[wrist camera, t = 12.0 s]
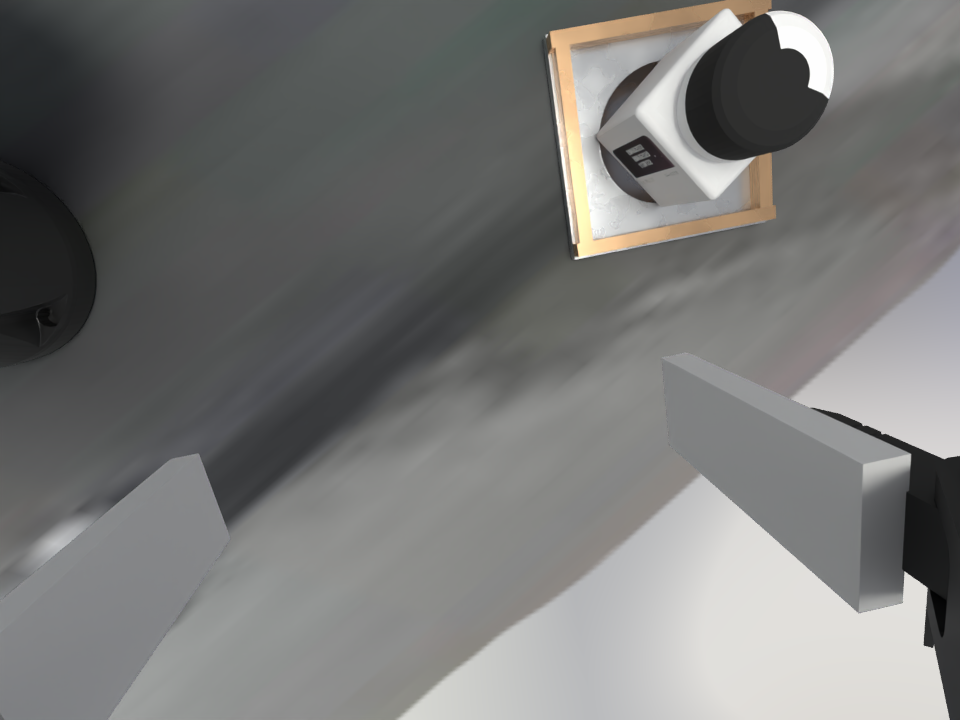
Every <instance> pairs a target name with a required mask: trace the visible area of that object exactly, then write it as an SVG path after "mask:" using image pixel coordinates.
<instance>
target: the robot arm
mask: <svg viewBox="0 0 960 720" xmlns="http://www.w3.org/2000/svg"><path fill="white" fill-rule="evenodd" d="M94 292H95V270H94V263H93V258H92V255H91V251H90V248H89V245H88V243H87V240H86V238H85V236H84V234H83V232H82V230H81V228H80V226H79V225H78V223H77V221H76V220H75V218H74V217H73V216H72V214H71V213H70V212H69V210H68V209H67V208H66V206H65V205H64V204H63V203H62V202H61V201H60V200H59V199H58V198H57V197H56V196H55V195H54V194H53V193H52V192H51V191H50V190H49V189H47V188H46V187H45V186H44V185H43V184H41V183H40V182H39V181H37V180H36V179H34V178H33V177H31V176H30V175H28V174H26V173H25V172H23V171H21V170H19V169H17V168H15V167H13V166H11V165H9V164H7V163H4V162H1V161H0V367H6V366H11V365H15V364H18V363H22V362H25V361H29V360H32V359H35V358H38V357H42V356H44V355H47V354H49V353H51V352H53V351H55V350H57V349H58V348H60V347H62V346H63V345H64V344H66V343H67V342H68V341H69V340H70V339H72V338H73V336H74V335H75V334H76V333H77V332H78V331H79V330H80V328H81V327H82V325H83V324H84V322H85V320H86V318H87V317H88V314H89V312H90V309H91V306H92V303H93V298H94ZM661 360H662V371H663V383H664V394H665V405H666V416H667V428H668V439H669V446H671V447H672V448H673V449H674V450H675V451H676V452H677V453H679V454H680V455H681V456H682V457H683V458H684V459H685V460H686V461H688V462H689V463H690V464H691V465H692V466H693V467H694V468H695V469H697V470H698V471H699V472H700V473H701V474H702V475H703V476H704V477H706V478H707V479H708V480H709V481H710V482H711V483H712V484H713V485H715V486H716V487H717V488H718V489H719V490H720V491H721V492H723V493H724V494H725V495H726V496H727V497H728V498H729V499H730V500H732V501H733V502H734V503H735V504H736V505H737V506H739V508H741V509H742V510H743V511H744V512H745V513H746V514H748V515H749V516H750V517H751V518H752V519H753V520H754V521H755V522H756V523H757V524H759V525H760V526H761V527H762V528H763V529H764V530H765V531H767V532H768V533H769V534H770V535H771V536H772V537H773V538H774V539H776V540H777V541H778V542H779V543H780V544H781V545H782V546H783V547H785V548H786V549H787V550H788V551H789V552H790V553H791V554H793V555H794V556H795V557H796V558H797V559H798V560H799V561H800V562H802V563H803V564H804V565H805V566H806V567H807V568H808V569H809V570H810V571H812V572H813V573H814V574H815V575H816V576H817V577H818V578H820V579H821V580H822V581H823V582H824V583H825V584H826V585H828V586H829V587H830V588H831V589H832V590H833V591H834V592H835V593H837V594H838V595H839V596H840V597H841V598H842V599H843V600H844V601H845V602H847V603H848V604H849V605H850V606H851V607H852V608H854V610H856V611H857V612H858V613H862V612H867V611H871V610H875V609H880V608H884V607H888V606H892V605H897V604H901V603H903V586H904V571H905V572H907V573H908V574H909V575H911V576H912V577H914V578H915V579H916V580H918V581H920V582H921V583H922V584H923V585H925V586H926V587H928V592H927V606H926V620H925V634H924V646H928V647H931V648H933V646H935V651H936V656H937V660H938V665H939V670H940V675H941V680H942V684H943V689H944V694H945V699H946V703H947V708H948V713H949V718H950V720H960V456H957V457H950V458H947V459H942V458H940V457H938V456H935V455H933V454H931V453H928V452H926V451H924V450H922V449H919V448H917V447H915V446H912V445H910V444H908V443H905V442H903V441H901V440H899V439H896V438H894V437H892V436H889V435H887V434H883V435H882V434H881V432H880V431H878V430H876V429H873V428H871V427H869V426H862V424H861V423H859V422H857V421H855V420H852V419H850V418H848V417H846V416H843V415H841V414H838V413H833V412H829V411H825V410H820V409H816V408H809V407H807V406H805V405H802V404H800V403H798V402H796V401H794V400H791V399H789V398H787V397H785V396H782V395H780V394H778V393H776V392H774V391H771V390H769V389H767V388H765V387H763V386H760V385H758V384H756V383H754V382H752V381H749V380H747V379H745V378H743V377H741V376H738V375H736V374H734V373H732V372H730V371H727V370H725V369H723V368H721V367H719V366H716V365H714V364H712V363H710V362H707V361H705V360H703V359H701V358H699V357H696V356H694V355H692V354H690V353H688V352H686V353H681V354H677V355H672V356H667V357H662V358H661ZM229 541H230V536H229V533H228V531H227V528H226V525H225V523H224V520H223V517H222V515H221V512H220V509H219V507H218V504H217V501H216V498H215V496H214V493H213V490H212V488H211V485H210V482H209V480H208V477H207V474H206V472H205V469H204V466H203V464H202V461H201V458H200V456H199V453H198V454H193V455H188V456H183V457H178V458H173V459H170V460H169V461H168V462H166V463H165V464H164V465H163V466H162V467H160V468H159V469H158V470H157V471H156V472H154V473H153V474H152V475H151V476H150V477H148V478H147V479H146V480H145V481H144V482H142V483H141V484H140V485H139V486H138V487H136V488H135V489H134V490H133V491H132V492H130V493H129V494H128V495H127V496H126V497H124V498H123V499H122V500H121V501H120V502H118V503H117V504H116V505H115V506H113V507H112V508H111V509H110V510H109V511H107V512H106V513H105V514H104V515H103V516H101V517H100V518H99V519H98V520H97V521H95V522H94V523H93V524H92V525H91V526H89V527H88V528H87V529H86V530H85V531H83V532H82V533H81V534H80V535H79V536H77V537H76V538H75V539H74V540H73V541H71V542H70V543H69V544H68V545H67V546H65V547H64V548H63V549H62V550H61V551H59V552H58V553H57V554H56V555H55V556H53V557H52V558H51V559H50V560H49V561H47V562H46V563H45V564H44V565H43V566H41V567H40V568H39V569H38V570H37V571H35V572H34V573H33V574H32V575H31V576H29V577H28V578H27V579H26V580H25V581H23V582H22V583H21V584H20V585H19V586H17V587H16V588H15V589H14V590H13V591H11V592H10V593H9V594H8V595H7V596H5V597H4V598H3V599H2V600H1V601H0V720H108V718H109V717H110V715H111V714H112V712H113V711H114V709H115V708H116V707H117V705H118V704H119V702H120V701H121V699H122V698H123V696H124V695H125V693H126V692H127V690H128V689H129V687H130V686H131V685H132V683H133V682H134V680H135V679H136V677H137V676H138V674H139V673H140V671H141V670H142V668H143V667H144V665H145V664H146V663H147V661H148V660H149V658H150V657H151V655H152V654H153V652H154V651H155V649H156V648H157V646H158V645H159V643H160V642H161V641H162V639H163V638H164V636H165V635H166V633H167V632H168V630H169V629H170V627H171V626H172V624H173V623H174V621H175V620H176V619H177V617H178V616H179V614H180V613H181V611H182V610H183V608H184V607H185V605H186V604H187V602H188V601H189V599H190V598H191V597H192V595H193V594H194V592H195V591H196V589H197V588H198V586H199V585H200V583H201V582H202V580H203V579H204V577H205V576H206V575H207V573H208V572H209V570H210V569H211V567H212V566H213V564H214V563H215V561H216V560H217V558H218V557H219V555H220V554H221V553H222V551H223V550H224V548H225V547H226V545H227V544H228V542H229Z"/></svg>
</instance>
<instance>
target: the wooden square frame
mask: <svg viewBox="0 0 960 720" xmlns="http://www.w3.org/2000/svg"><path fill="white" fill-rule="evenodd" d="M723 9H730V10H731V11H732V12H733V14H734V15H735V16H736V17H737V19H738V20H739V21H740V23H741V24H742V25H743V24H745V23H746V22H748V21H749V20H751V19H753V18H755V17H756V16H759V15H762V14H764V13H768V11H769V10H770V9H771V0H726V1H720V2H715V3H709V4H703V5H698V6H692V7H686V8H681V9H675V10H669V11H664V12H658V13H652V14H647V15H641V16H635V17H630V18H624V19H618V20H613V21H607V22H601V23H596V24H590V25H584V26H579V27H573V28H567V29H562V30H556V31H550V32H549V34H547V35H545V36H544V38H543V40H542V41H543V48H544V56H545V63H546V71H547V78H548V86H549V93H550V101H551V109H552V116H553V124H554V131H555V139H556V146H557V154H558V161H559V169H560V176H561V184H562V192H563V199H564V207H565V214H566V222H567V229H568V237H569V244H570V252H571V259H574V260H575V259H581V258H586V257H591V256H596V255H601V254H606V253H611V252H616V251H621V250H626V249H631V248H636V247H642V246H647V245H652V244H657V243H662V242H667V241H672V240H677V239H682V238H687V237H692V236H697V235H703V234H708V233H713V232H718V231H723V230H728V229H733V228H738V227H743V226H748V225H753V224H758V223H764V222H766V220H770V219H775V218H776V205H773V201H772V158H771V153H767V154H764V155H760V156H756V157H755V158H754V159H753V160H752V161H751V163H750V164H749V165H748V166H747V167H746V168H745V169H744V170H743V171H742V172H741V173H740V174H739V175H738V177H737V178H736V179H735V180H734V181H733V182H732V183H731V184H730V185H729V186H728V187H727V188H726V189H725V190H724V192H723V193H722V194H721V195H720V196H719V197H718V198H716V199H715V200H708V201H701V202H693V203H686V204H679V205H672V206H665V207H661V206H660V205H658V204H657V202H656V201H655V200H654V199H653V198H652V197H651V196H650V195H649V194H648V193H647V192H646V191H645V190H644V189H643V187H642V186H641V185H640V184H639V183H638V182H637V181H636V180H635V179H634V178H633V177H632V176H631V175H630V174H629V172H628V171H627V170H626V169H625V168H624V167H623V166H622V165H621V164H620V163H619V162H618V161H617V160H616V159H615V157H614V156H613V155H612V154H611V153H610V152H609V151H608V150H607V149H606V148H605V147H604V146H603V145H602V144H601V142H600V141H599V140H598V139H597V134H598V132H599V131H600V129H601V128H602V127H603V126H604V125H605V124H606V123H607V121H608V120H609V119H610V118H611V117H612V116H613V115H614V113H615V112H616V111H617V110H618V109H619V108H620V107H621V105H622V104H623V103H624V102H625V101H626V100H627V98H628V97H629V96H630V95H631V94H632V93H633V92H634V90H635V89H636V88H637V87H638V86H639V85H640V84H641V82H642V81H643V80H644V79H645V78H646V77H647V76H648V74H649V73H650V72H651V71H652V70H653V69H654V67H655V66H656V65H657V64H658V63H659V62H660V61H661V59H662V58H663V57H664V56H665V55H666V54H667V53H669V52H670V51H671V50H672V49H674V48H675V47H676V46H677V45H679V44H680V43H681V42H682V41H684V40H685V39H686V38H687V37H689V36H690V35H691V34H692V33H694V32H695V31H696V30H697V29H699V28H700V27H701V26H702V25H704V24H705V23H706V22H707V21H709V20H710V19H711V18H712V17H714V16H715V15H716V14H717V13H719V12H720V11H721V10H723Z"/></svg>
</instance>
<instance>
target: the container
mask: <svg viewBox="0 0 960 720" xmlns="http://www.w3.org/2000/svg"><path fill="white" fill-rule="evenodd" d="M833 76H834V66H833V58H832V53H831V50H830V47H829V44H828V42H827V40H826V38H825V37H824V35H823V34H822V32H821V31H820V30H819V29H818V28H817V27H816V26H815V24H814V23H812V22H811V21H810V20H808V19H807V18H805V17H803V16H801V15H799V14H796V13H793V12H788V11H773V12H768V13H764V14H762V15H759V16H756V17H755V18H753V19H751V20H749V21H748V22H746V23H745V24H743V25H742V24H741V23H740V21H739V20H738V19H737V17H736V16H735V15H734V14H733V12H732V11H731V10H730V9H723V10H721V11H720V12H719V13H717V14H716V15H715V16H714V17H712V18H711V19H710V20H709V21H707V22H706V23H705V24H704V25H702V26H701V27H700V28H699V29H697V30H696V31H695V32H694V33H692V34H691V35H690V36H689V37H687V38H686V39H685V40H684V41H682V42H681V43H680V44H679V45H677V46H676V47H675V48H674V49H672V50H671V51H670V52H669V53H667V54H666V55H665V56H664V57H663V58H662V59H661V61H660V62H659V63H658V64H657V65H656V66H655V67H654V69H653V70H652V71H651V72H650V73H649V74H648V76H647V77H646V78H645V79H644V80H643V81H642V82H641V84H640V85H639V86H638V87H637V88H636V89H635V90H634V92H633V93H632V94H631V95H630V96H629V97H628V98H627V100H626V101H625V102H624V103H623V104H622V105H621V107H620V108H619V109H618V110H617V111H616V112H615V113H614V115H613V116H612V117H611V118H610V119H609V120H608V121H607V123H606V124H605V125H604V126H603V127H602V128H601V129H600V131H599V132H598V134H597V139H598V140H599V141H600V142H601V144H602V145H603V146H604V147H605V148H606V149H607V150H608V151H609V152H610V153H611V154H612V155H613V156H614V157H615V159H616V160H617V161H618V162H619V163H620V164H621V165H622V166H623V167H624V168H625V169H626V170H627V171H628V172H629V174H630V175H631V176H632V177H633V178H634V179H635V180H636V181H637V182H638V183H639V184H640V185H641V186H642V187H643V189H644V190H645V191H646V192H647V193H648V194H649V195H650V196H651V197H652V198H653V199H654V200H655V201H656V202H657V204H658V205H660V206H661V207H665V206H672V205H679V204H686V203H693V202H701V201H708V200H715V199H716V198H718V197H719V196H720V195H721V194H722V193H723V192H724V190H725V189H726V188H727V187H728V186H729V185H730V184H731V183H732V182H733V181H734V180H735V179H736V178H737V177H738V175H739V174H740V173H741V172H742V171H743V170H744V169H745V168H746V167H747V166H748V165H749V164H750V163H751V161H752V160H753V159H754V158H755V157H756V156H760V155H764V154H767V153H771V152H775V151H779V150H782V149H785V148H787V147H789V146H791V145H793V144H795V143H796V142H798V141H799V140H801V139H802V138H803V137H804V136H805V135H807V134H808V133H809V131H810V130H811V129H812V128H813V127H814V126H815V124H816V123H817V122H818V120H819V119H820V117H821V115H822V114H823V112H824V110H825V108H826V105H827V103H828V100H829V97H830V94H831V90H832V84H833Z"/></svg>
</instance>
